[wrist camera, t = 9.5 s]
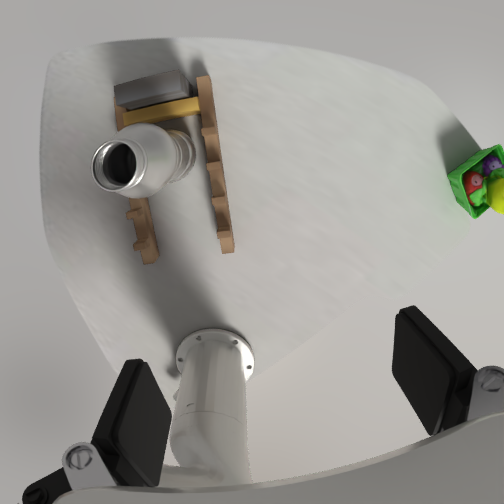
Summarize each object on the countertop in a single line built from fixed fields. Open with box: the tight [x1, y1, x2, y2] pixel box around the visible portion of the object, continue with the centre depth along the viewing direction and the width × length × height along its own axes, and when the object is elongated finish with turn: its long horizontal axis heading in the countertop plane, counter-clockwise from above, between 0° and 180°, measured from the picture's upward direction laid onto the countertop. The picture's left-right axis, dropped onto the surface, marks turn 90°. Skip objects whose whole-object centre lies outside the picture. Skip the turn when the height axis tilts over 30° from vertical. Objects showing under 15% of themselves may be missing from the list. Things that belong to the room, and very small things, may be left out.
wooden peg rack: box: [114, 70, 234, 264], centre depth 34 cm, size 22×12×9 cm, turn 7°
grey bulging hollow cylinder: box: [91, 123, 196, 199], centre depth 28 cm, size 6×7×20 cm
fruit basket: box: [447, 144, 504, 219], centre depth 34 cm, size 11×9×11 cm
